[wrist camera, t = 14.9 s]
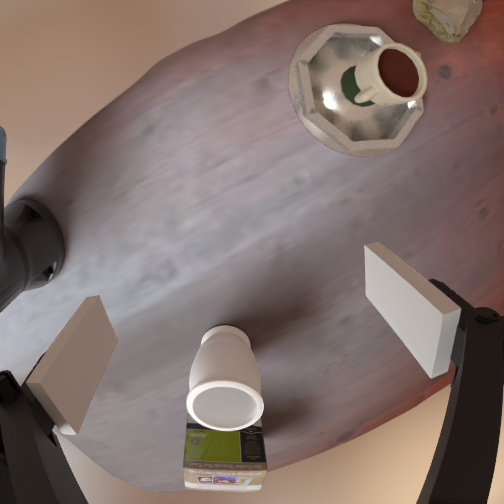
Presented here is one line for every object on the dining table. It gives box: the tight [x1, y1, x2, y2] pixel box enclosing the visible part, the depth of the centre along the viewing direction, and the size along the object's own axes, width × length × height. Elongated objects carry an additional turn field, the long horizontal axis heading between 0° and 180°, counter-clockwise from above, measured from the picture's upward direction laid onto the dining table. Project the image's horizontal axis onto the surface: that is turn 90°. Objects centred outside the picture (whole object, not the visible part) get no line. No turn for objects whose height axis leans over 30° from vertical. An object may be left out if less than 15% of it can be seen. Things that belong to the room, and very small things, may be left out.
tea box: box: [183, 413, 268, 492], centre depth 53 cm, size 15×10×15 cm
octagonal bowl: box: [288, 23, 424, 157], centre depth 38 cm, size 21×21×3 cm
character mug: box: [341, 42, 428, 107], centre depth 33 cm, size 11×7×13 cm, turn 133°
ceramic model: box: [412, 0, 482, 43], centre depth 30 cm, size 14×11×10 cm
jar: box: [186, 325, 264, 431], centre depth 45 cm, size 11×10×15 cm
